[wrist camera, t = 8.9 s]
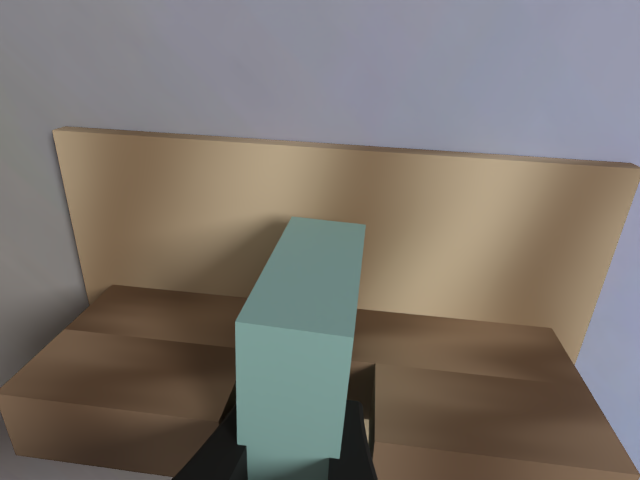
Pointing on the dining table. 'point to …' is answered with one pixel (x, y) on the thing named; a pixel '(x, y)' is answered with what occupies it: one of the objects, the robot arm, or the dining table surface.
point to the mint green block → (298, 351)
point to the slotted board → (372, 308)
